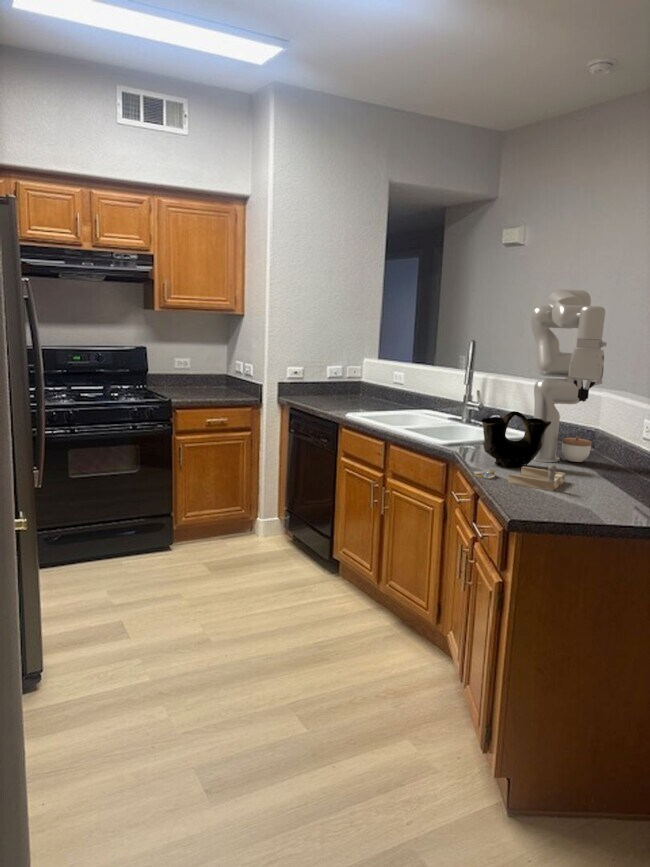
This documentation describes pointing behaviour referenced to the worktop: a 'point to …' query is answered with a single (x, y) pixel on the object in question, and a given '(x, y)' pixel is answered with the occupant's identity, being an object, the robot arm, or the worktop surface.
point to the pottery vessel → (513, 450)
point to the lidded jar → (576, 449)
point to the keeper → (538, 478)
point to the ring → (485, 473)
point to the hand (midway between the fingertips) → (582, 400)
